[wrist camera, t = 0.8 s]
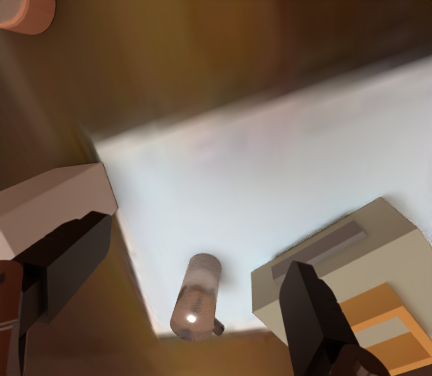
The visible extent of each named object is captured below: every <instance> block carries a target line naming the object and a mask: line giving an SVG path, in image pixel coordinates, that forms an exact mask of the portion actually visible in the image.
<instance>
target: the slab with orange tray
mask: <svg viewBox="0 0 432 376" xmlns="http://www.w3.org/2000/svg"><path fill="white" fill-rule="evenodd" d="M293 260H295V261H299V262H303V263H307V264H311V265H312V266H313V267H314V270H315V272H316V274H317V276H318V278H319V279H323V281H324V282H325V283H326V284H327V285H328V286H329V287H330V288H331V289H332V291H333V293H334V295H335V297H336V299H337V303H339V305H340V307H341V309H342V312H343V313H344V315H345V317H346V319H347V321H348V323H349V325H350V327H351V329H352V331H353V333H354V335H355V337H356V339H357V341H358V343H359V345H360V346H361V347H363V348H365V349H366V350H368V351H369V352H371V353H372V354H373V355H375V356H376V357H377V358H378V359H379V360H380V361H381V362H382V363H383V364H384V366H385V367H386V368H387V370H388V371H389V373H390V375H391V376H394V375H397V374H400V373H403V372H407V371H410V370H413V369H416V368H419V367H422V366H425V365H429V364H432V247H431V246H430V244H429V243H428V241H427V240H426V238H425V237H424V236H423V234H422V233H421V231H420V230H419V229H418V228H417V227H416V226H415V225H414V224H413V223H411V222H410V221H409V220H408V219H407V218H405V217H404V216H403V215H402V214H401V213H399V212H398V211H397V210H396V209H394V208H393V207H392V206H391V205H390V204H388V203H387V202H386V201H385V200H384V199H382V198H381V197H379V198H378V199H376V200H374V201H373V202H371V203H369V204H367V205H366V206H364V207H362V208H361V209H359V210H357V211H355V212H354V213H352V214H350V215H349V216H347V217H345V218H343V219H342V220H340V221H338V222H337V223H335V224H333V225H332V226H330V227H328V228H326V229H325V230H323V231H321V232H320V233H318V234H316V235H314V236H313V237H311V238H309V239H308V240H306V241H304V242H302V243H301V244H299V245H297V246H296V247H294V248H292V249H290V250H289V251H287V252H285V253H284V254H282V255H280V256H278V257H277V258H275V259H273V260H272V261H270V262H268V263H266V264H265V265H263V266H261V267H260V268H258V269H256V270H255V271H253V272H251V281H252V313H253V314H254V315H255V316H256V317H257V318H259V319H260V320H261V321H262V322H263V323H264V324H265V325H266V326H267V327H268V328H269V329H270V330H271V331H272V332H273V333H274V334H275V335H276V336H278V337H279V338H280V339H281V340H282V341H283V342H284V343H285V344H286V345H287V346H288V342H287V338H286V333H285V328H284V323H283V319H282V314H281V309H280V304H279V292H280V288H281V286H282V283H283V281H284V278H285V276H286V273H287V271H288V269H289V266H290V264H291V262H292V261H293Z"/></svg>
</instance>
